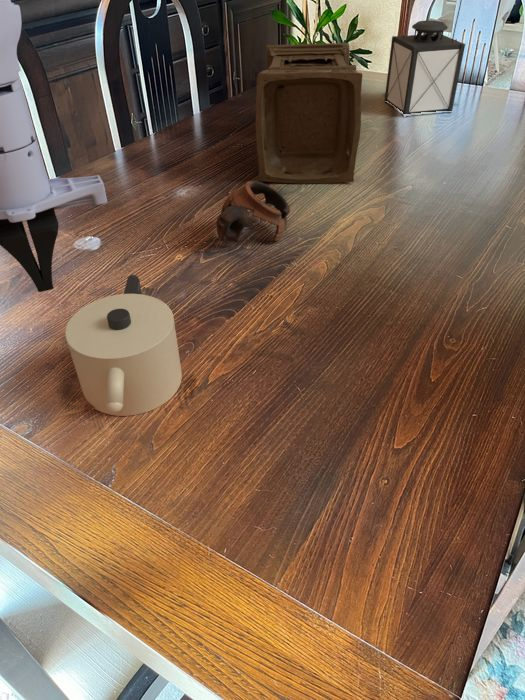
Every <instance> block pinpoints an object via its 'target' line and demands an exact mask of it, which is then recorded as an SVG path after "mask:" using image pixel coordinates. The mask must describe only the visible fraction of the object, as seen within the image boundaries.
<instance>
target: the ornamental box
mask: <svg viewBox="0 0 525 700" xmlns="http://www.w3.org/2000/svg"><path fill="white" fill-rule="evenodd" d="M265 52H266V53H265V68H266V69H265V70H262V71H261V72H260V71H259V73H257V75H256V97H255V145H256V154H257V163H258V178H257V181H258V182H262V183H264V182H267V183H279V184H298V185H299V184H300V185H303V184H304V185H309V184H312V185H314V184H327V183H328V184H330V183H354V181H355V168H356V160H357V155H358V149H359V143H360V138H361V127H362V87H363V85H362V84H363V73H362V72H358V71H357V65H356V64H350V58H351V57H350V55H351V54H350V53H351V50H350V43H348V42H334V43H331V42H330V43H329V42H328V43H296V44H295V43H293V44H292V43H290V44H275V45H274V44H271V45H270V44H266V45H265Z"/></svg>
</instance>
